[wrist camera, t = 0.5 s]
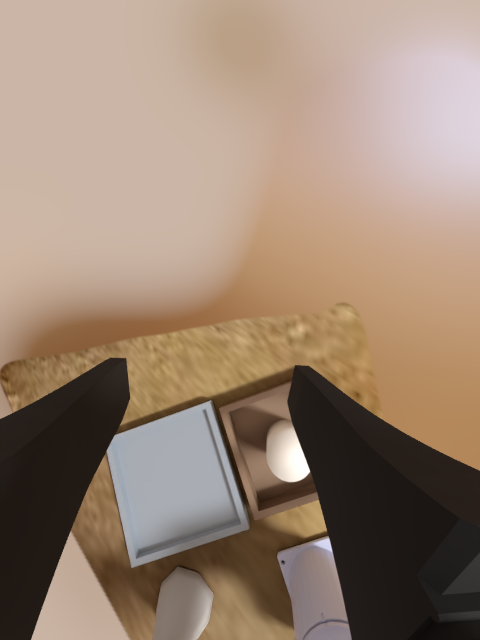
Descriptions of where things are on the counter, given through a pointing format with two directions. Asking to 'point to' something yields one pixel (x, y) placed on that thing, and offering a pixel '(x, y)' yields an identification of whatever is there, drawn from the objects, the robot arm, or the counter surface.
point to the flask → (182, 606)
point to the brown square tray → (263, 452)
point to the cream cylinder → (285, 452)
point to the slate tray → (175, 484)
